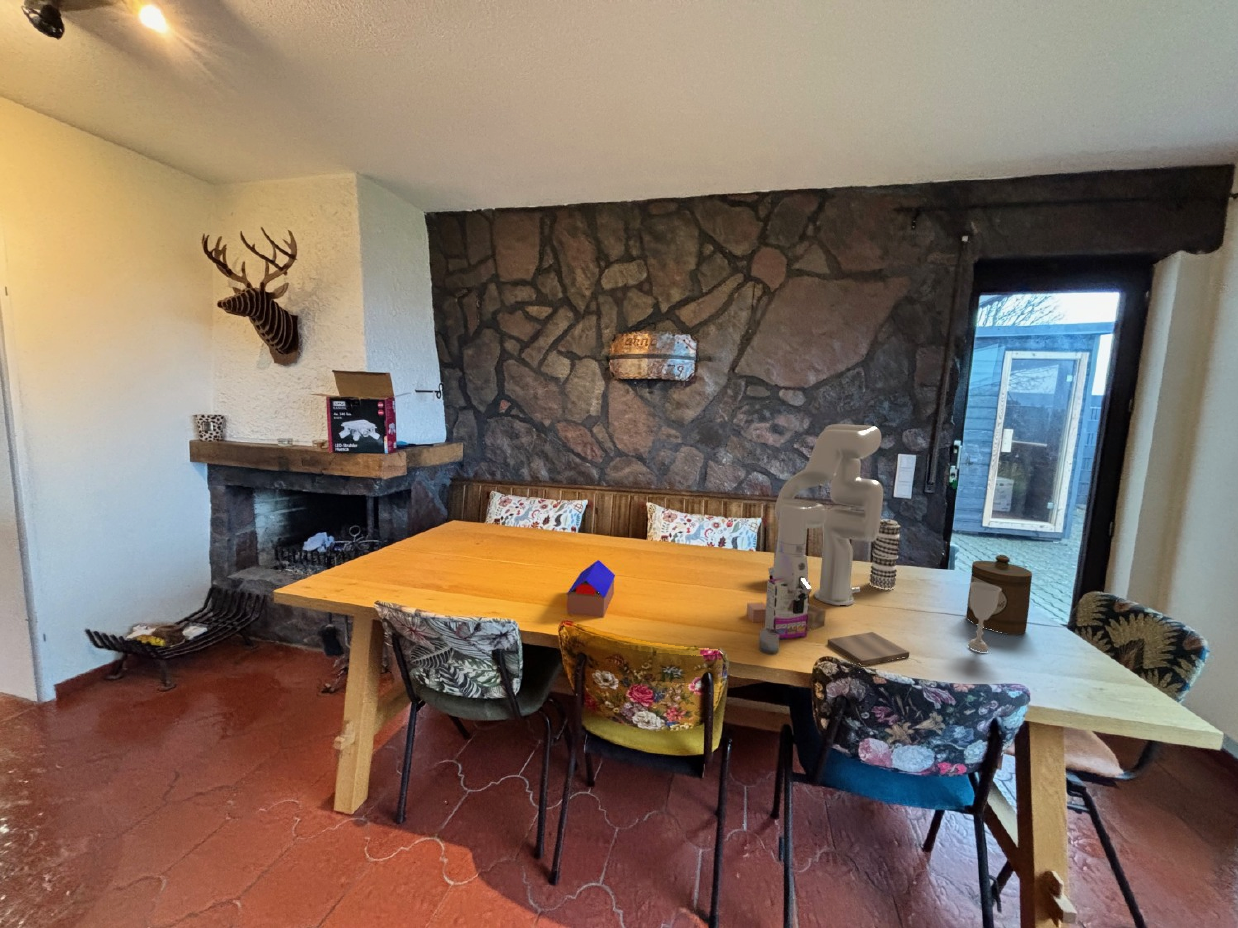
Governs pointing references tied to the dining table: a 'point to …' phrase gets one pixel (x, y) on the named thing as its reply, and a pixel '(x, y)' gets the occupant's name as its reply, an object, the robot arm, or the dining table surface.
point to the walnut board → (867, 648)
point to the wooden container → (1004, 594)
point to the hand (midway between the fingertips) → (786, 606)
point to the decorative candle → (885, 554)
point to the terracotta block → (756, 612)
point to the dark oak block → (815, 617)
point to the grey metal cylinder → (769, 641)
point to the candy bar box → (784, 611)
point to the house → (591, 591)
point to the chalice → (982, 609)
